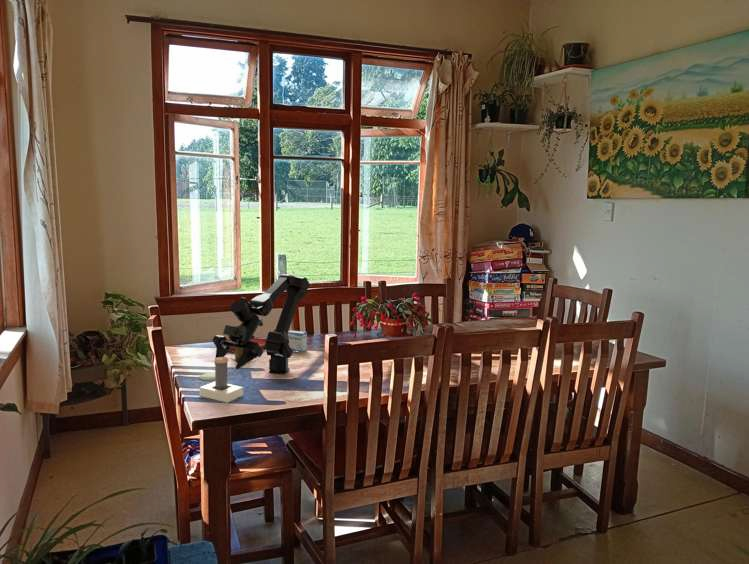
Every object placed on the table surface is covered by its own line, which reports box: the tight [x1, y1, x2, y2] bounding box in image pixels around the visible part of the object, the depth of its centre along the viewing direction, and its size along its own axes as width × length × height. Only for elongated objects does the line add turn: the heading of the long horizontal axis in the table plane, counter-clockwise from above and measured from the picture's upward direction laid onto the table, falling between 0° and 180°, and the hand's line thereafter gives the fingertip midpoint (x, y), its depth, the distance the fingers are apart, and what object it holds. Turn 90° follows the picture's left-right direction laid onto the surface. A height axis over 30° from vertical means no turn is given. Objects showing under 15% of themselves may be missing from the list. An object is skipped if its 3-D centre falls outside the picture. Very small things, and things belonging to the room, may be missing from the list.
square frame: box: [199, 381, 244, 403], centre depth 201 cm, size 8×12×3 cm, turn 63°
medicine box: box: [288, 329, 308, 353], centre depth 259 cm, size 8×4×9 cm, turn 73°
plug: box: [214, 356, 229, 391], centre depth 200 cm, size 4×4×13 cm
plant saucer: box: [226, 336, 267, 353], centre depth 261 cm, size 18×18×3 cm
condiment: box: [230, 348, 257, 363], centre depth 243 cm, size 7×8×12 cm
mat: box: [199, 372, 215, 382], centre depth 220 cm, size 8×8×1 cm
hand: (225, 366), depth 202 cm, fingers open, 9 cm apart
